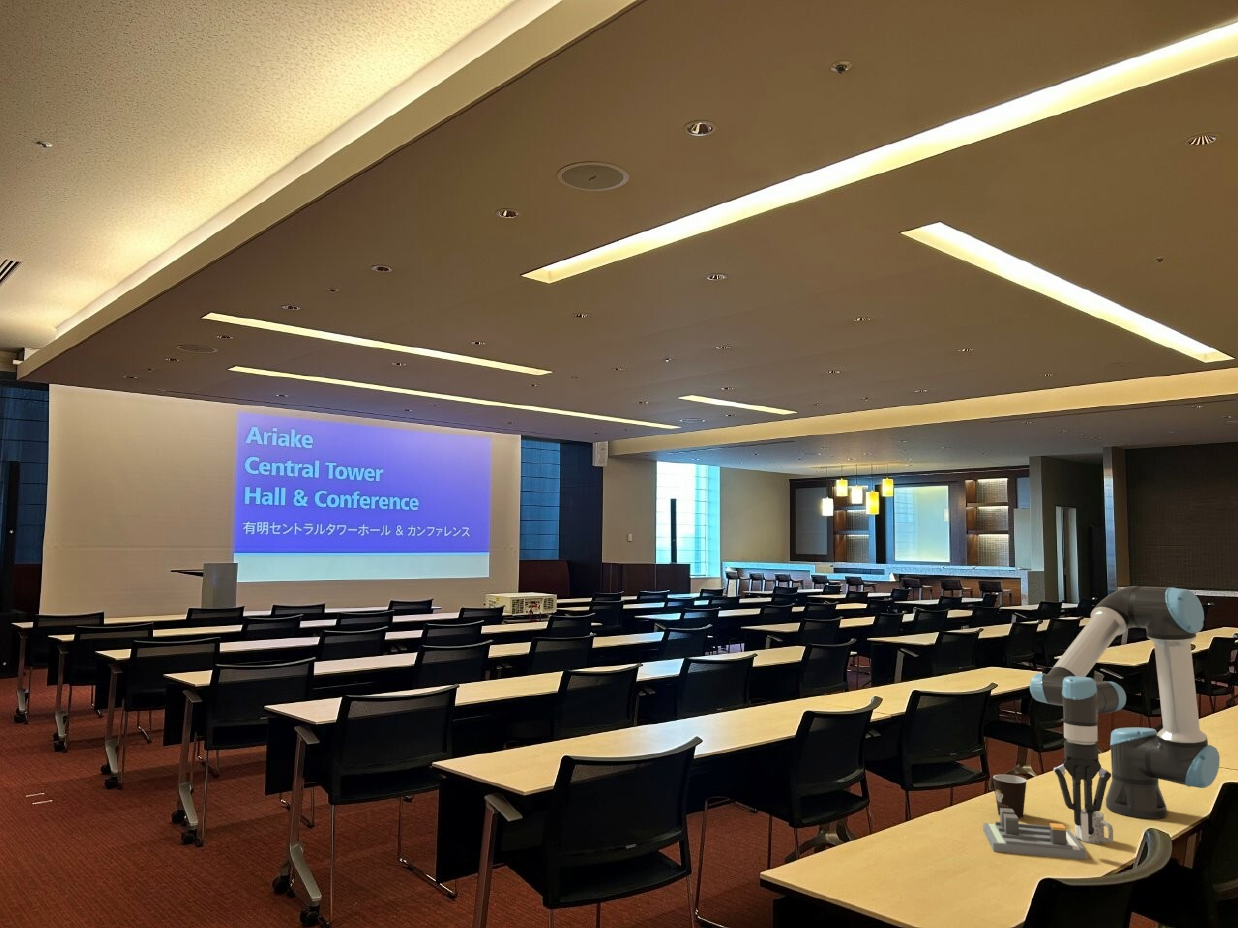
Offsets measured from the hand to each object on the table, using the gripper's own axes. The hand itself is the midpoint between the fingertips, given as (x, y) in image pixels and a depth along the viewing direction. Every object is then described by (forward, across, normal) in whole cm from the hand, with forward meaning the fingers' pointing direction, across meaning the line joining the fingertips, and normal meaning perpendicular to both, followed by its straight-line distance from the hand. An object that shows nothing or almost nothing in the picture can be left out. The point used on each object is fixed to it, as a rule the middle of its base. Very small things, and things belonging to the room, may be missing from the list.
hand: (1083, 838), depth 218 cm
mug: (+4, -6, -12) cm, 14 cm away
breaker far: (+2, +16, -10) cm, 19 cm away
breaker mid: (+2, +16, -5) cm, 17 cm away
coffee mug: (+4, +12, -31) cm, 33 cm away
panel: (+4, +11, -5) cm, 13 cm away
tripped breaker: (+2, +6, 0) cm, 6 cm away
